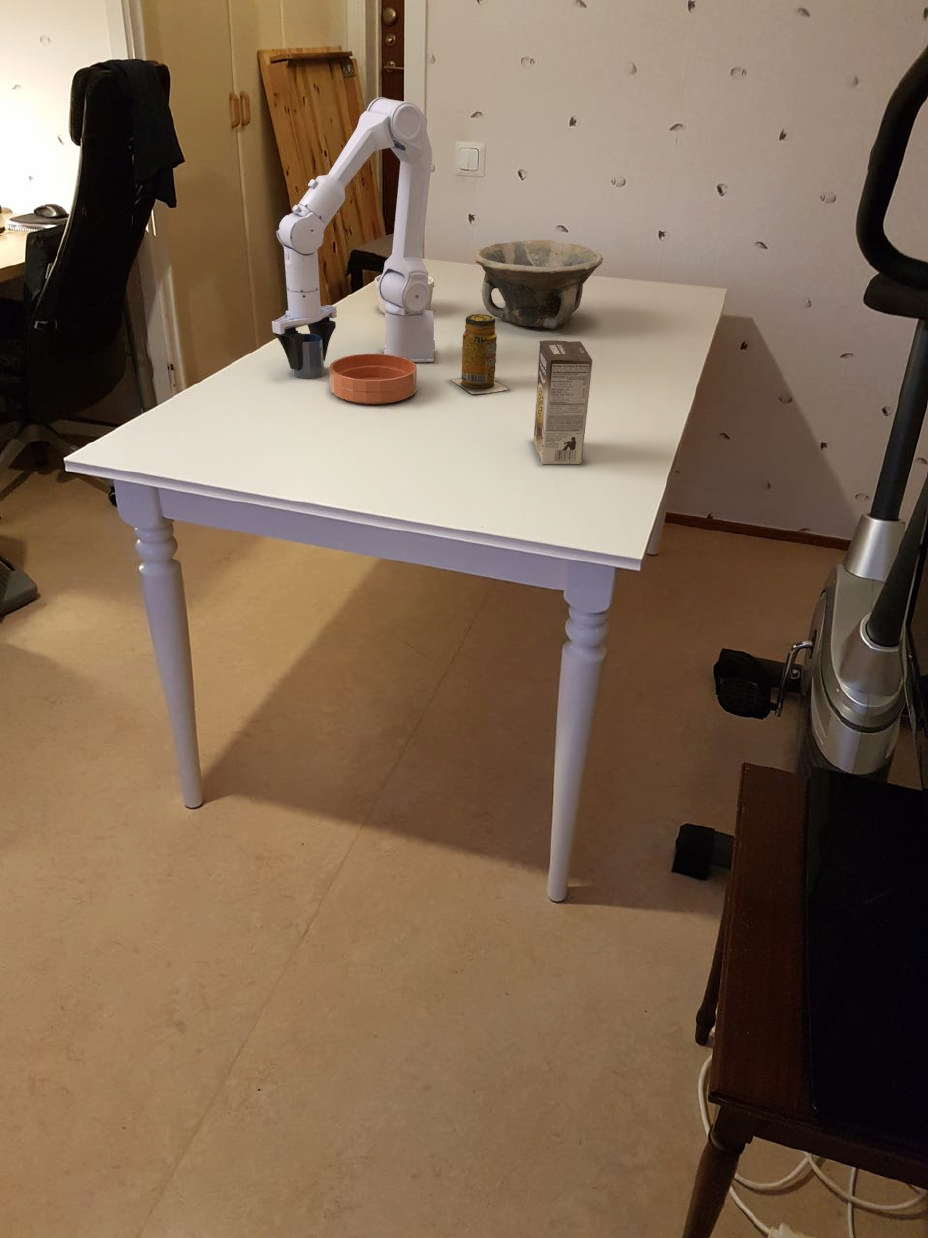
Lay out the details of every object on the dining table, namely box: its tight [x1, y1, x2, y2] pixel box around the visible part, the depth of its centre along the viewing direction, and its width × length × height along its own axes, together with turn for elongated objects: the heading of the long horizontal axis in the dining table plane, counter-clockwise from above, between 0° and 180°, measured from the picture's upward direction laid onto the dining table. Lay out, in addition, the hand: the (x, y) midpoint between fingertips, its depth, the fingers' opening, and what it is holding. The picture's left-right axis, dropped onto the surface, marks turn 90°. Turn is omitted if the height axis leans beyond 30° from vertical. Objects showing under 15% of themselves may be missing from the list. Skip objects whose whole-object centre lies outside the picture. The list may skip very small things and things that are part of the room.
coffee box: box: [533, 339, 593, 465], centre depth 141 cm, size 9×6×16 cm
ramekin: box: [374, 274, 435, 315], centre depth 209 cm, size 13×13×7 cm
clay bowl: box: [329, 352, 418, 405], centre depth 165 cm, size 15×15×4 cm
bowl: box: [474, 239, 604, 330], centre depth 202 cm, size 27×26×15 cm
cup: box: [291, 333, 325, 379], centre depth 172 cm, size 6×6×6 cm
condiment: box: [451, 313, 509, 395], centre depth 167 cm, size 7×8×12 cm
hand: (308, 364), depth 173 cm, fingers closed on cup, 6 cm apart
